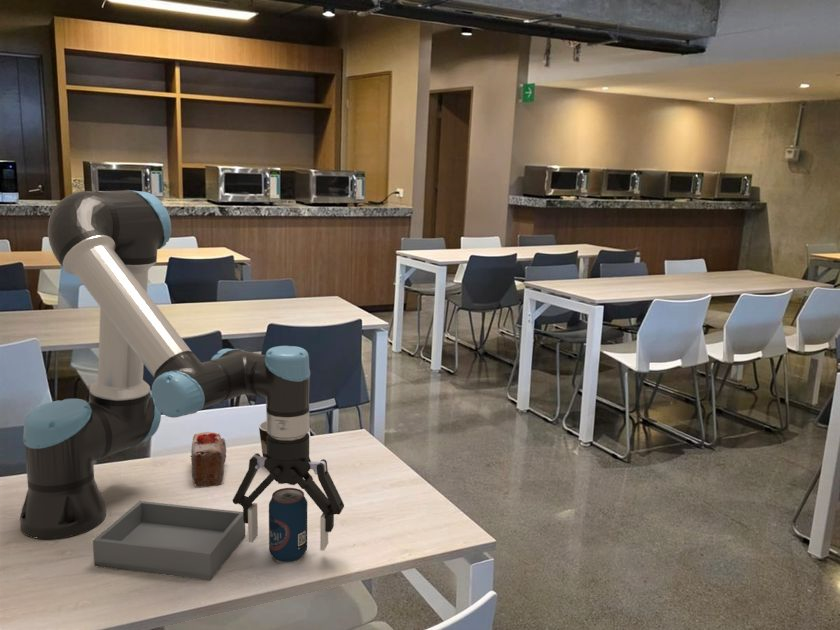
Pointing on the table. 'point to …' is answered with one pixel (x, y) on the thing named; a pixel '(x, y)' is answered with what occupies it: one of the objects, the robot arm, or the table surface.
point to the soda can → (288, 525)
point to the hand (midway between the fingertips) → (288, 543)
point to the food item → (208, 459)
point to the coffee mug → (263, 438)
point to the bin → (170, 540)
